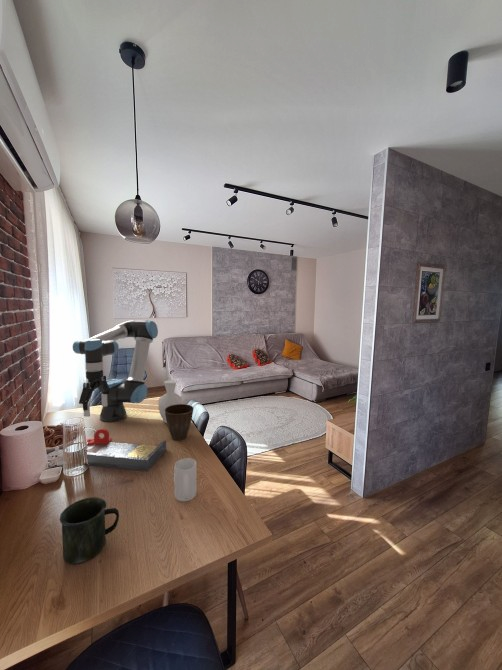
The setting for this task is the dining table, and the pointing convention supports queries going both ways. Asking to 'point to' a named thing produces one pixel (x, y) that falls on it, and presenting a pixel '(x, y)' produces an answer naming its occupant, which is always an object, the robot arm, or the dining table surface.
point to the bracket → (100, 440)
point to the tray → (127, 456)
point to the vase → (168, 398)
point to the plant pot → (179, 420)
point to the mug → (85, 529)
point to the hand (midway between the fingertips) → (96, 411)
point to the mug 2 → (185, 479)
